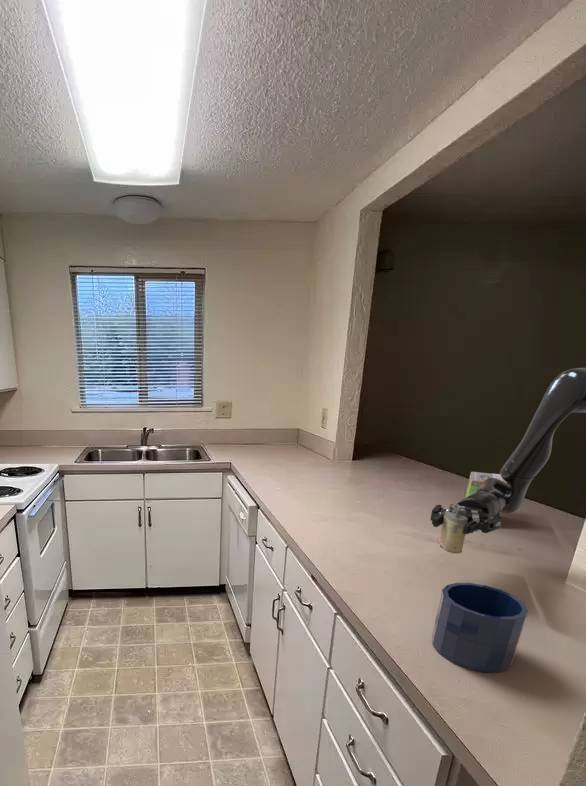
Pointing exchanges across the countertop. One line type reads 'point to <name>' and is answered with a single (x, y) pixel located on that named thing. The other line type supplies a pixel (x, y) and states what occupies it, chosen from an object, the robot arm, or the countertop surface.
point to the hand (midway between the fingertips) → (450, 526)
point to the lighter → (453, 529)
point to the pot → (478, 627)
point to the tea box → (477, 479)
